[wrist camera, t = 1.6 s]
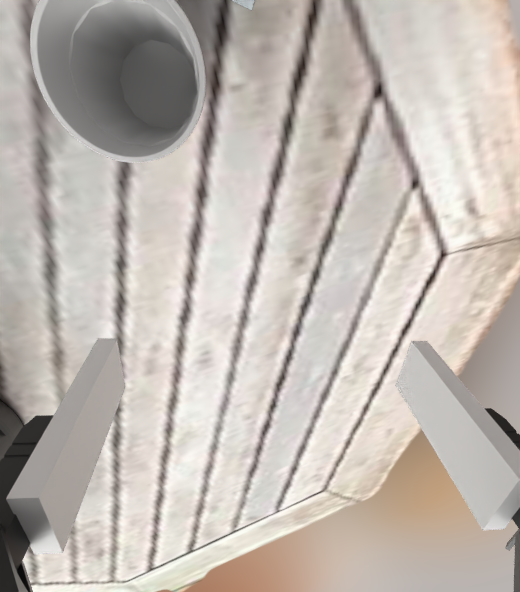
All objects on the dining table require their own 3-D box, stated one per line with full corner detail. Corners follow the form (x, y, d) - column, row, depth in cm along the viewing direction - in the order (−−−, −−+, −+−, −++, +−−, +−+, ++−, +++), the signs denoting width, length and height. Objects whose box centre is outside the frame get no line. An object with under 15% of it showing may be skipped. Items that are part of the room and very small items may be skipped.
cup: (163, 163, 29) (127, 193, 19) (87, 76, 26) (-9, 52, 15) (234, 99, 27) (238, 93, 17) (162, -5, 24) (112, -94, 13)
